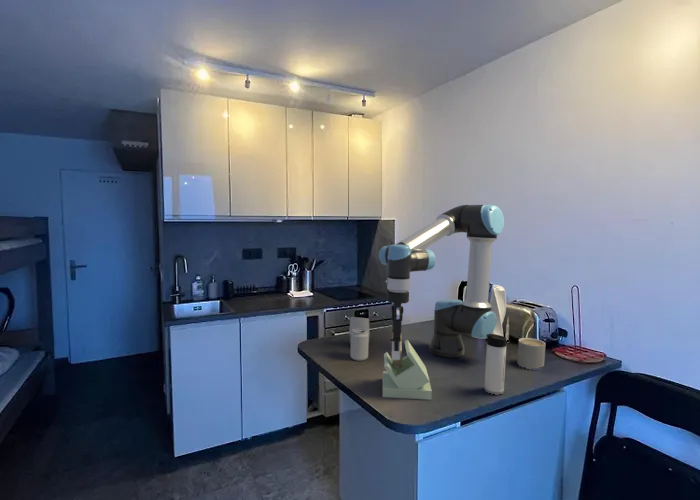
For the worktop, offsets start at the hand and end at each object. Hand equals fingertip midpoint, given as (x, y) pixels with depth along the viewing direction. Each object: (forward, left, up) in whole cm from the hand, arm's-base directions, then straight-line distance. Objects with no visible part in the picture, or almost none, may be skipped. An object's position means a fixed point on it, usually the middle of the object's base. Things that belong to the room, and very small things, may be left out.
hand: (395, 357), depth 136 cm
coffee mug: (-57, -29, -11) cm, 65 cm away
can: (+14, -27, -11) cm, 33 cm away
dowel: (-1, 0, -3) cm, 3 cm away
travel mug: (-34, -2, -11) cm, 36 cm away
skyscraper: (-51, -59, -12) cm, 79 cm away
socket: (-4, 0, -11) cm, 12 cm away
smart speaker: (+15, -43, -11) cm, 47 cm away
